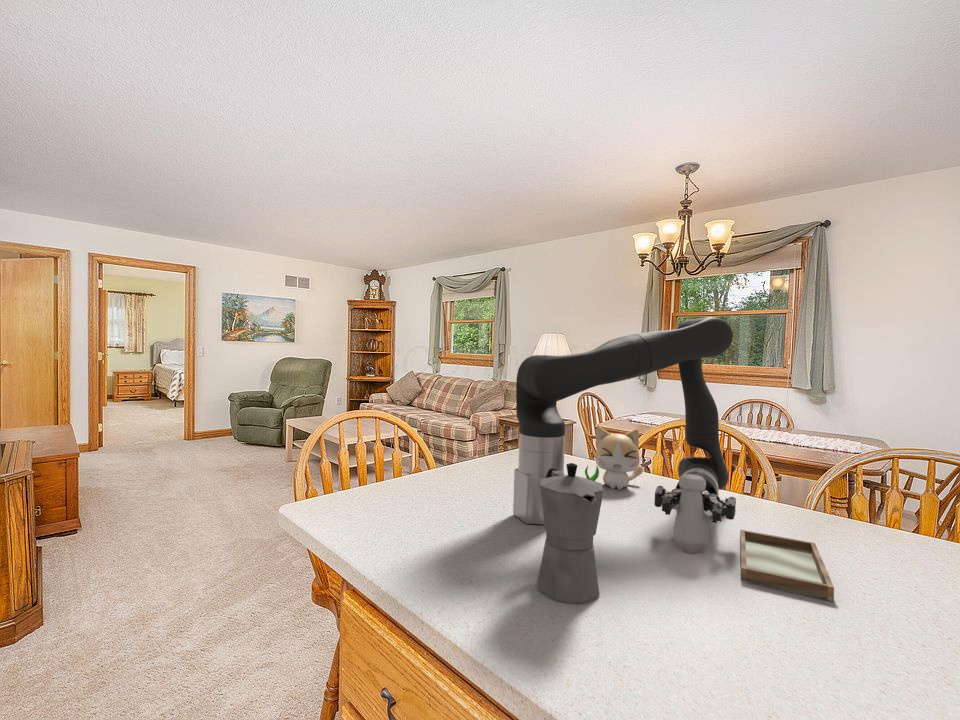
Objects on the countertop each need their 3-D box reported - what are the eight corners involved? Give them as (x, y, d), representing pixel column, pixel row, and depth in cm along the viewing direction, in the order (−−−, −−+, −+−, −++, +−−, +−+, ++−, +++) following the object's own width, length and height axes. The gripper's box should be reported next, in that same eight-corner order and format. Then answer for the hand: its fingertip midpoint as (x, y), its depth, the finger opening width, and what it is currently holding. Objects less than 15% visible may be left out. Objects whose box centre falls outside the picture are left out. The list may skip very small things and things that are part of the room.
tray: (833, 601, 66) (834, 587, 66) (740, 580, 72) (741, 567, 72) (814, 554, 82) (814, 542, 82) (739, 540, 88) (740, 529, 88)
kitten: (583, 488, 119) (586, 429, 118) (584, 478, 128) (586, 423, 128) (646, 494, 115) (648, 433, 115) (642, 483, 125) (644, 427, 125)
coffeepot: (621, 609, 63) (625, 474, 62) (554, 616, 60) (559, 476, 60) (572, 559, 78) (576, 450, 77) (517, 563, 76) (521, 451, 75)
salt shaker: (708, 546, 84) (711, 474, 84) (708, 558, 79) (711, 481, 79) (672, 540, 87) (675, 469, 87) (671, 551, 82) (674, 477, 81)
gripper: (660, 466, 99) (647, 484, 84) (738, 476, 92) (739, 498, 77) (659, 501, 99) (645, 526, 84) (737, 515, 92) (737, 544, 78)
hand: (690, 513), depth 81 cm, fingers open, 7 cm apart
